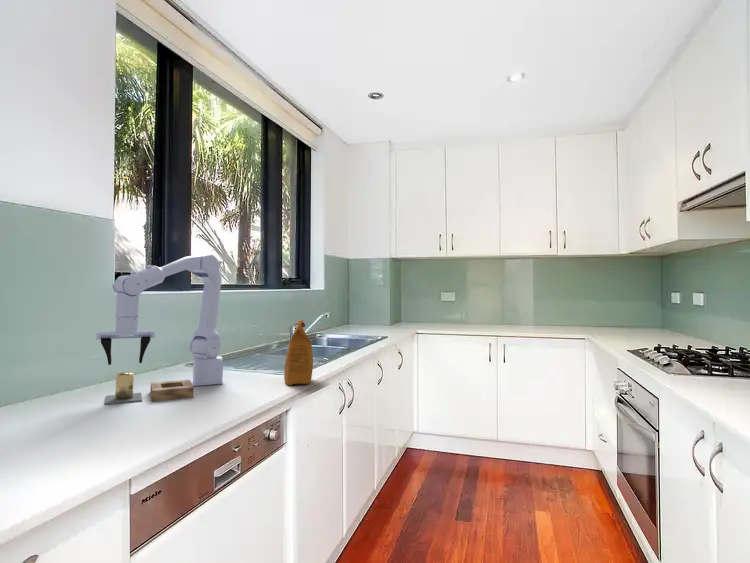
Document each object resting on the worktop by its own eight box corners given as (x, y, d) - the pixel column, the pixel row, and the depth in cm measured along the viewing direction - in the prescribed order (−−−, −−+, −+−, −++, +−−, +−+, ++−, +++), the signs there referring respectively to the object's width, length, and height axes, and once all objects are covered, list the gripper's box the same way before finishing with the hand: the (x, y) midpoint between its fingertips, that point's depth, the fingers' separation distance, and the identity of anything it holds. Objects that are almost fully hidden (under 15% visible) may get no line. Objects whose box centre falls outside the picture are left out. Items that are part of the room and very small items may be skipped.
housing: (188, 388, 135) (189, 379, 135) (193, 397, 125) (193, 387, 125) (150, 392, 129) (150, 382, 129) (152, 401, 120) (152, 390, 120)
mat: (141, 393, 127) (141, 392, 127) (141, 401, 119) (142, 399, 119) (106, 397, 122) (106, 395, 122) (104, 405, 115) (104, 403, 115)
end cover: (134, 395, 123) (135, 371, 123) (129, 399, 119) (131, 374, 119) (118, 395, 122) (119, 371, 122) (112, 400, 118) (113, 374, 118)
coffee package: (312, 378, 156) (314, 319, 156) (312, 386, 144) (314, 322, 144) (285, 378, 154) (287, 319, 155) (283, 386, 142) (285, 322, 142)
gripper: (154, 315, 128) (152, 359, 128) (98, 315, 121) (96, 362, 121) (155, 317, 122) (154, 363, 122) (96, 317, 115) (94, 366, 115)
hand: (125, 363), depth 121 cm, fingers open, 7 cm apart
